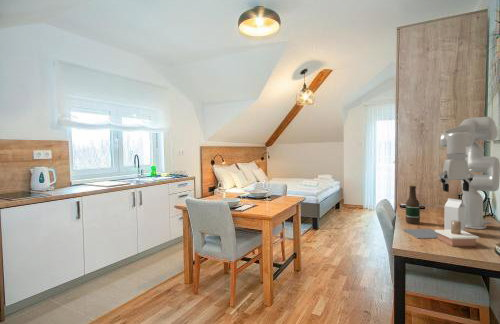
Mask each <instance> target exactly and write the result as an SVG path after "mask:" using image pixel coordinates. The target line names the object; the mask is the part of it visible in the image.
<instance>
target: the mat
mask: <svg viewBox="0 0 500 324" xmlns="http://www.w3.org/2000/svg"><path fill="white" fill-rule="evenodd" d="M402 231H403V232H405V233H407V234H409V235H411V236H412V237H414V238H416V239H418V240H419V239H422V240H423V239H426V240H427V239H429V240H430V239H431V240H432V239H438V233H437V232H435V230H433V229H431V228H417V229H416V228H415V229H414V228H413V229H411V228H406V229H403V228H402Z"/></svg>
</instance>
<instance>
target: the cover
mask: <svg viewBox="0 0 500 324" xmlns="http://www.w3.org/2000/svg"><path fill="white" fill-rule="evenodd" d="M434 231H435V232H437V233H439V234H442V235H444V236H446V237H448V238H450V239H476V240H479V239H480V236H477V235H475V234H472V233H470V232H468V231H466V230H465V231H463V230H461V222H460V221H451V230H444V229H434Z"/></svg>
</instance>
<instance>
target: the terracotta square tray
mask: <svg viewBox="0 0 500 324" xmlns="http://www.w3.org/2000/svg"><path fill="white" fill-rule="evenodd" d="M437 240H439V241H440V242H443V243H444V244H447V245H448V246H450V247H452V248H453V247H455V248H456V247H458V248H459V247H476V240H477V239H450V238H448V237H446V236H444V235H442V234H439V233H438V238H437Z"/></svg>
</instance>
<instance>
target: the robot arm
mask: <svg viewBox="0 0 500 324" xmlns="http://www.w3.org/2000/svg"><path fill="white" fill-rule="evenodd" d="M498 132H499V131H498V128H497V126H496V121H494V119H493V118H492V117H491V116H481V117H480V116H479V117H478V116H477V117H469V118H465V119H464V120H463V121H462V122H461V123H460V124H459V125H457V126H454V127H452V128H448V129H446V130H445V131H443V132H442V134H441V135H440V137H439V144H440V145H441V147H442V148H446V159H444V161H443V162H444V164H443V167H442V169H443V170H442V172H441V173H439V174H438V175H437V177H438V180H439V181H440V183H441V184H442V190H443V192H446V193H448V192H449V189H450V185H449V182H450V181H460V184H461V185H460V186H461V191H462V203H463V204H464V205H465V229H473V230H485V229H486V228H487V224H488V225H489V224H492V220H487V219H483V218H484V199H483V196H482V194H481V193H480V192H496V191H498V190H499V188H500V159H499V158H498V157H496V156H484V155H485V154H484V152H485V149H484V147H483V146H482V144H480V143H479V142H483V141H486V142H487V141H494V140H497V137H498V134H499V133H498ZM478 141H479V142H478ZM478 173H480V174H478ZM481 173H487V174H481Z"/></svg>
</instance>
